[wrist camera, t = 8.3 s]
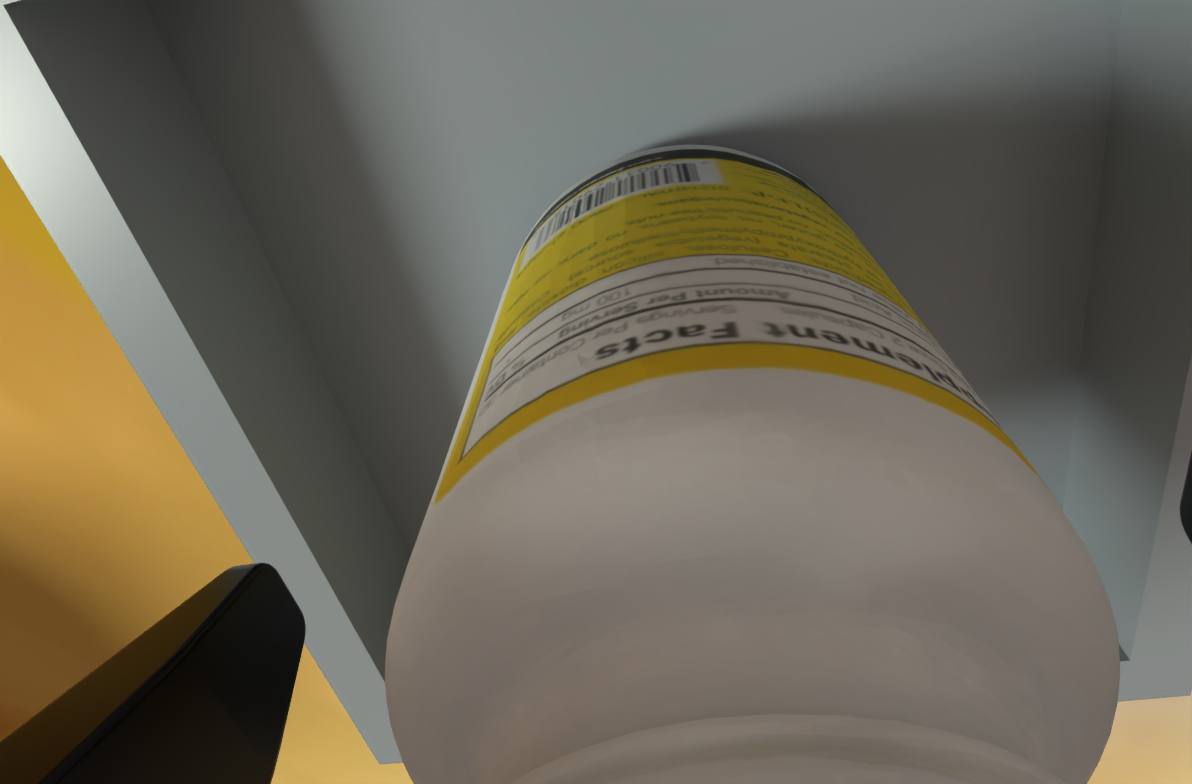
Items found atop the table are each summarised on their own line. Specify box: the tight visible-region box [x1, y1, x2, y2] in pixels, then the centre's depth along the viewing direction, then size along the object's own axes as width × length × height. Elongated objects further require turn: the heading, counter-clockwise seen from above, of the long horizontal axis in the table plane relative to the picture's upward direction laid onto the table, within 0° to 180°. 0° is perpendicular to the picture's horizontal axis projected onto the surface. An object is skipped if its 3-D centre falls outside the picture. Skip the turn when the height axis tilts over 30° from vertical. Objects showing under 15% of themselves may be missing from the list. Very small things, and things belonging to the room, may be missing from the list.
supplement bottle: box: [385, 145, 1120, 784], centre depth 7 cm, size 5×5×10 cm
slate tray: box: [0, 0, 1192, 764], centre depth 11 cm, size 14×14×3 cm
